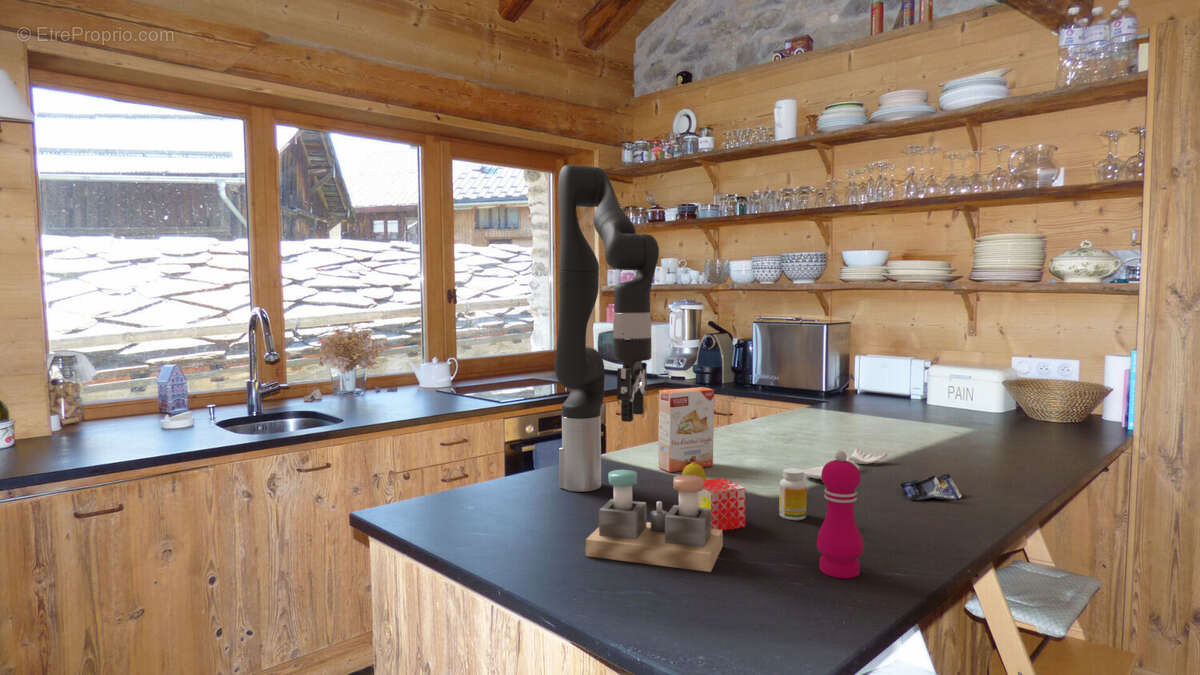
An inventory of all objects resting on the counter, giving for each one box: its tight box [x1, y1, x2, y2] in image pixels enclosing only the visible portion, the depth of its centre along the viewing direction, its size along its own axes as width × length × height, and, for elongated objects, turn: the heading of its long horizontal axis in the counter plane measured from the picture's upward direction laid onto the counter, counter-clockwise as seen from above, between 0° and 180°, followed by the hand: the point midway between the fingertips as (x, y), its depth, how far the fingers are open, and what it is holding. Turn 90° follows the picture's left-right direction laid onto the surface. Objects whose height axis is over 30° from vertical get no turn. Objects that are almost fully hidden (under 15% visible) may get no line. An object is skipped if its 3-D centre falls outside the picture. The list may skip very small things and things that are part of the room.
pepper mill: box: [816, 450, 864, 579], centre depth 111 cm, size 7×7×20 cm
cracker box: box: [658, 386, 715, 473], centre depth 178 cm, size 14×6×21 cm, turn 118°
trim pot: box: [650, 500, 669, 532], centre depth 123 cm, size 3×3×5 cm
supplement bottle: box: [778, 467, 808, 521], centre depth 139 cm, size 5×5×10 cm
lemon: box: [681, 462, 707, 481], centre depth 153 cm, size 6×6×8 cm
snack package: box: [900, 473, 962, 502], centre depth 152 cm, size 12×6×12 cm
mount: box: [585, 498, 724, 573], centre depth 121 cm, size 22×12×8 cm, turn 71°
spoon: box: [802, 447, 889, 481], centre depth 174 cm, size 9×32×4 cm, turn 132°
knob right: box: [672, 474, 703, 518], centre depth 118 cm, size 5×5×7 cm
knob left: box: [607, 469, 638, 511], centre depth 122 cm, size 5×5×7 cm
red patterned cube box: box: [698, 477, 746, 531], centre depth 135 cm, size 8×8×8 cm
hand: (632, 417), depth 134 cm, fingers open, 8 cm apart
